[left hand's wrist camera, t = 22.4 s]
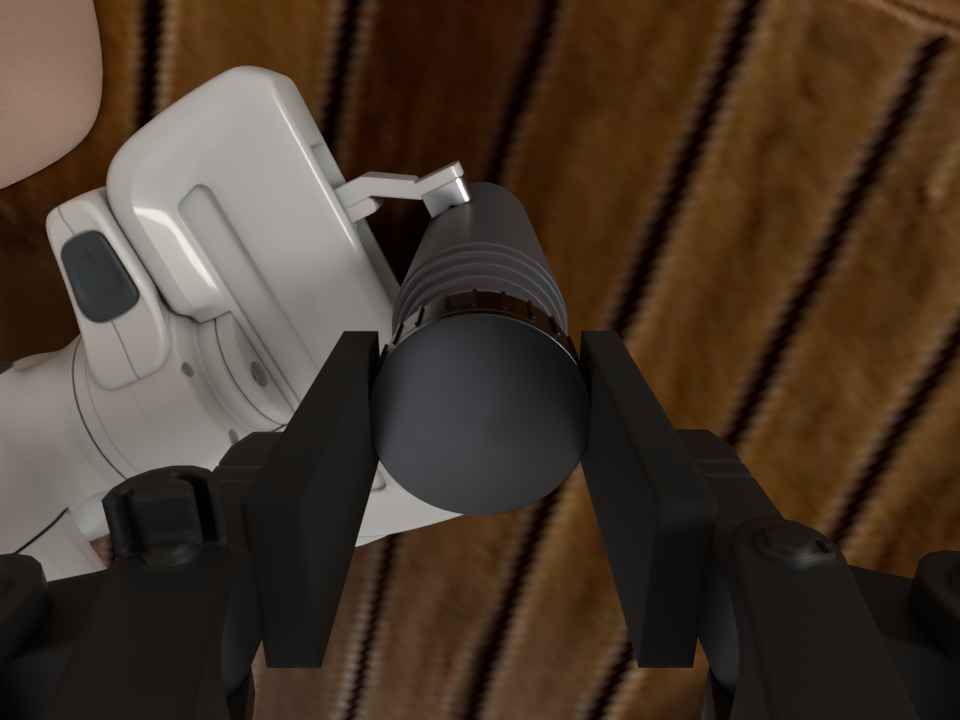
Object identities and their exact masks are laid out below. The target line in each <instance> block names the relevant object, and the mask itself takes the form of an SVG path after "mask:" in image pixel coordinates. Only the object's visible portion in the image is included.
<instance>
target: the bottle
mask: <svg viewBox="0 0 960 720" xmlns="http://www.w3.org/2000/svg"><path fill="white" fill-rule="evenodd" d="M469 185H470V187H471V189H472V192H473V194H474V195H473V196H474V197H473V198H472V199H471V200H470V201H468V202H466V203H464V204H461V205H458V206H454V205H451V206H450V208H449V209H448V211H446V212H444V213H443V214H441V215H438V216H436V217H434V218H432V217H431V219H430V222H429V224H428V226H427V229H426V231H425V233H424V236H423V238H422V240H421V243H420V245H419V247H418V250H417V252H416V254H415V256H414V259H413V261H412V263H411V266H410V268H409V270H408V273H407V275H406V277H405V280H404V282H403V284H402V286H401V289H400V291H399V293H398V296H397V298H396V301H395V305H394V309H393V315H392V337H393V335H394V334H395V332H396V330H397V327H398V324H399V323H400V322H402V323H404V322H405V321H406V320H407V319H408V318H409V317H410V316H411V315H413V314H414V313H415V312H417V311H418V309H419V306H421V305H423V307H424V306H426V305H428V304H430V303H431V302H433V301H436V300H438V299H441V298H443V297H444V295H445V294H447V293H448V294H449V295H454V294H458V293H463V292H472V291H473V289H477V291H489V292H496V293H501V291H505V294H506V295H510V296H513V297H517V298H519V299H521V300H524V301H526V302H528V300H530V301H532V304H533V305H534V306H535V307H537V308H539V309H540V310H542V311H543V312H544V313H546V314H547V315H548V316H549V317H550V316H551V315H552V316H553V317H554V318H555V321H556V323H557V324H558V326H559V327H560V328H561V329H562V330H563V332H564V333H565V335H566V336H568V332H567V330H568V321H567V312H566V306H565V303H564V300H563V297H562V294H561V292H560V290H559V287H558V285H557V283H556V280H555V278H554V276H553V274H552V271H551V269H550V267H549V264H548V262H547V260H546V257H545V255H544V253H543V251H542V248H541V246H540V244H539V241H538V239H537V237H536V234H535V232H534V230H533V228H532V225H531V223H530V221H529V218H528V216H527V214H526V212H525V210H524V208H523V206H522V204H521V203H520V201H519V200H518V199H517V198H516V197H515V196H514V195H513V194H512V193H511V192H509V191H508V190H506V189H505V188H503V187H501V186H499V185H496V184H493V183H488V182H471V183H469Z"/></svg>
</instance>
